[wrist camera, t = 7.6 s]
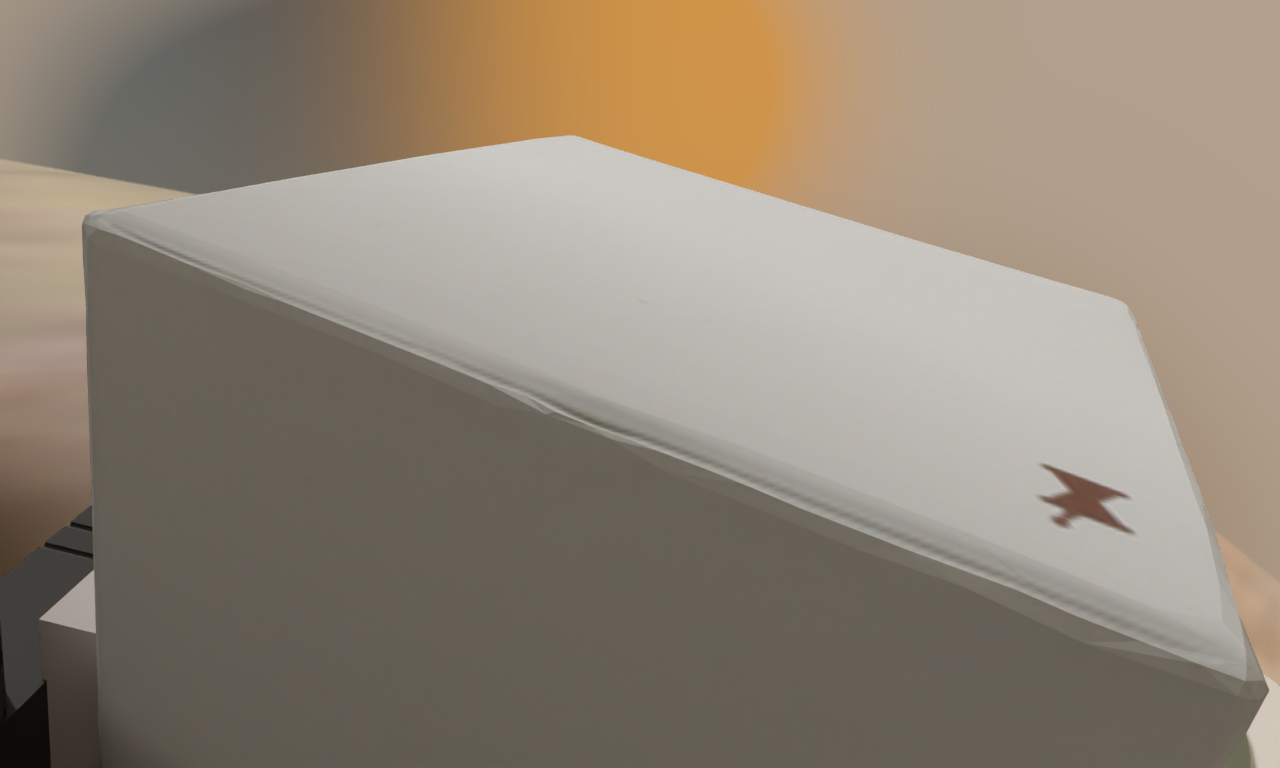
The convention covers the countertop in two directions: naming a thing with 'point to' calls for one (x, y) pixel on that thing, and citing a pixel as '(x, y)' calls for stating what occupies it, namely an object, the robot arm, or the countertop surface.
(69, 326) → the countertop surface
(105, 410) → the supplement box
